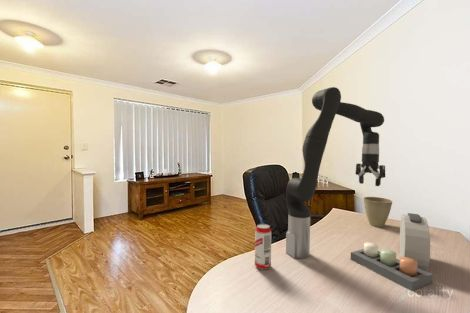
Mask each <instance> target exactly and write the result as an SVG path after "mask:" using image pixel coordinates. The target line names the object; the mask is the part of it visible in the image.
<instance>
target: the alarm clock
mask: <svg viewBox="0 0 470 313" xmlns="http://www.w3.org/2000/svg"><path fill="white" fill-rule="evenodd" d="M399 223H400V224H399V226H400V227H399V254H400V257H408V258H412V259H414V260H416V261H417V262H418V264H417V268H420V269H422V270H424V271H427V272H429V271H428V270H429V268H430V260H431V236H430V229H429V223H428V220H427V218H426V217H425V216H420V214H418V213H410V212H408V213H407V214H402V215H401V216H400V222H399Z"/></svg>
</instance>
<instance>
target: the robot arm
mask: <svg viewBox="0 0 470 313" xmlns="http://www.w3.org/2000/svg"><path fill="white" fill-rule="evenodd" d="M341 100H342V94H341V91H340V89H339V88H337V87H335V86H332V87H327V88H324V89H321V90H318V91H316V92H315V93H314V94H313V96H312V98H311V103H312V106H313V108H315V109H316V110H318V111H320V112H319V115H318V117H317V118H316V120H315V121H314V123H313V124H312V125H311V127H310V128H309V129H308V131H307V132H306V135H305V137H304V141H303V143H302V144H303V145H302V156H303V161H304V167H303V172H302V175H301V177H292V178H290V179H289V181H288V182H287V185H286V189H285V190H286V191H285V192H286V193H285V194H286V209H287V210H288V215H287V216H288V217H287V218H288V219H287V220H288V222H287V224H288V226H287V231H286V233H285V253H286V254H287V255H288V256H290V257H292V258H293V259H307V258H309V257H310V249H311V247H310V244H311V209H310V208H309V207H308V205H307V204H306V203H307V202H309V201H311V200H312V199H313V197H314V195H315V192H316V189H317V183H318V178H319V172H320V168H321V164H322V160H323V156H324V154H325V149H326V145H327V142H328V140H329V136H330V133H331V132H330V131H331V129H332V125H333V122H334V120H335V117H336V115H338V116H341V117H344V118H347V119H349V120H351V121H353V122H356V123H359V126H360V130H361V133H362V147H361V162H362V163H356V164H355V175H356V176H358V182H359V184H364V181H365V179H364V178H365V177H364V176H365V175H366V174H372V175H373V176H374V177H375V187H380V186H381V181H382V179H383V178H386V165H383V164H382V165H379V162H380V134H379V132H376V131H373V130H372V128H378V127H381V126H382V125H383V124H384V122H385V116H384V115H383V114H382V113H381V112H378V111H375V110H371V109H367V108H364V107H361V106H359V105H357V104H354V103H348V102H341ZM305 202H306V203H305Z"/></svg>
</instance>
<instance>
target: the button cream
mask: <svg viewBox="0 0 470 313" xmlns="http://www.w3.org/2000/svg"><path fill="white" fill-rule="evenodd" d="M363 249H364V255H365V256H367V257H370V258H378V251H379V245H378V244H376V243H374V242H364V243H363Z"/></svg>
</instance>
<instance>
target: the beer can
mask: <svg viewBox="0 0 470 313" xmlns="http://www.w3.org/2000/svg"><path fill="white" fill-rule="evenodd" d="M254 245H255V246H254V265H255V267H256V268H257V269H259V270H262V271H264V270H268V269H269V268H270V267H271V266H272V229H271V225H269V224H266V223H258V224H257V225H256V228H255V230H254Z"/></svg>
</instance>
